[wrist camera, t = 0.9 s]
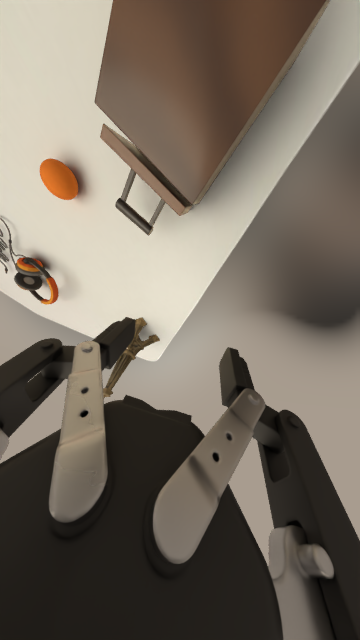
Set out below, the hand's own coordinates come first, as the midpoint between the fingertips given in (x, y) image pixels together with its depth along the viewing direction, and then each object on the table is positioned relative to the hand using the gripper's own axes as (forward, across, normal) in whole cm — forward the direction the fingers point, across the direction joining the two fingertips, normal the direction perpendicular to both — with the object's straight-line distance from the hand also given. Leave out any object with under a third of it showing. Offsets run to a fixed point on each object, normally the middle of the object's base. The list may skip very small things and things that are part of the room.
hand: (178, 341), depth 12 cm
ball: (+19, +27, -11) cm, 35 cm away
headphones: (+25, +44, +9) cm, 52 cm away
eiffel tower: (+29, +14, +24) cm, 40 cm away
